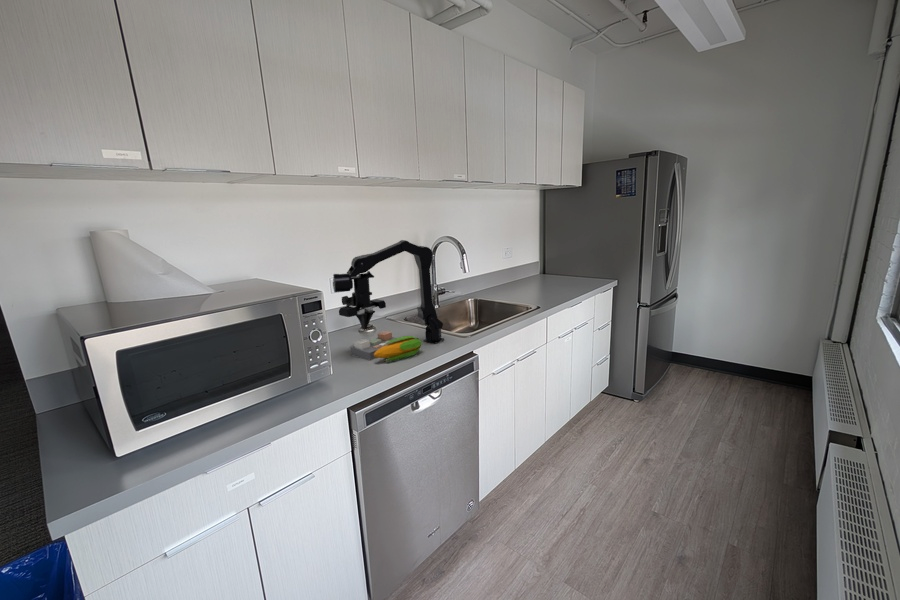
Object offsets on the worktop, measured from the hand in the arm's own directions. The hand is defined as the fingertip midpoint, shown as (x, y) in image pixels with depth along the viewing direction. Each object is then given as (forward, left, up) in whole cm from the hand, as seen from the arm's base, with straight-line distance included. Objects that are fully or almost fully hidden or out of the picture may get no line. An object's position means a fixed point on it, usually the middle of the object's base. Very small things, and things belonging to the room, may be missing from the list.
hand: (364, 329), depth 156 cm
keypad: (-4, +2, -10) cm, 11 cm away
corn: (-3, +15, -10) cm, 18 cm away
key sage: (-4, 0, -9) cm, 10 cm away
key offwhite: (+2, 0, -8) cm, 8 cm away
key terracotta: (-10, 0, -8) cm, 12 cm away
